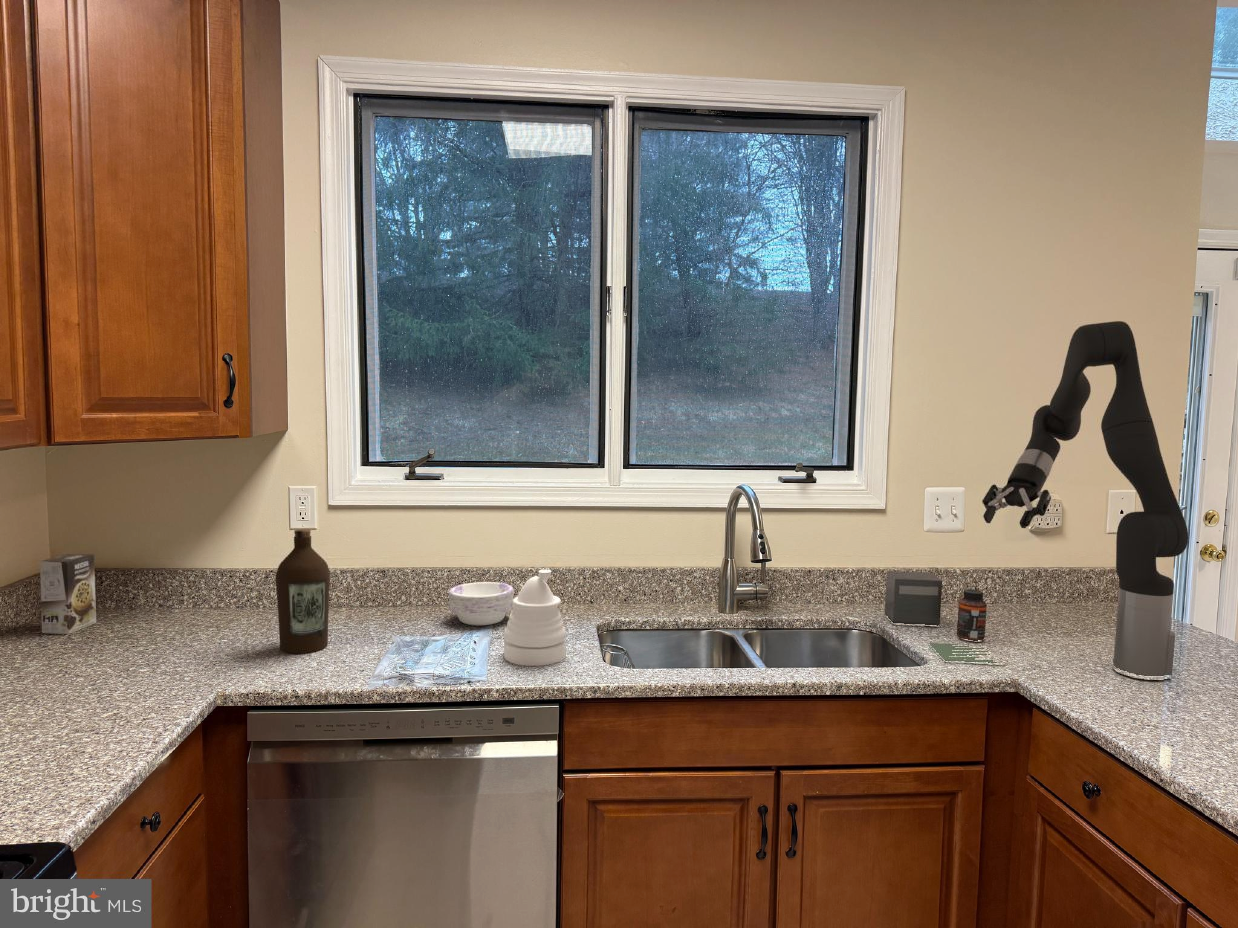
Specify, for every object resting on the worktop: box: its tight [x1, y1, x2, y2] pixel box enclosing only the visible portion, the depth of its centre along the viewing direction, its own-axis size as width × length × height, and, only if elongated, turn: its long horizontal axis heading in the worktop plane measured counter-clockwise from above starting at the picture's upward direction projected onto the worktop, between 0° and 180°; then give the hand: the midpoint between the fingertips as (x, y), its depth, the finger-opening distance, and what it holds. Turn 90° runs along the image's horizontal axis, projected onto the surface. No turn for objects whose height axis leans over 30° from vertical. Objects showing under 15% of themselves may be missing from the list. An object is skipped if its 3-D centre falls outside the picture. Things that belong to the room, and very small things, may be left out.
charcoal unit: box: [884, 570, 943, 627], centre depth 198 cm, size 11×10×12 cm
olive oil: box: [275, 528, 331, 655], centre depth 168 cm, size 11×11×25 cm
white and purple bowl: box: [448, 581, 515, 627], centre depth 191 cm, size 15×15×8 cm
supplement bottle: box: [956, 588, 988, 641], centre depth 184 cm, size 6×6×11 cm
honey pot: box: [503, 569, 567, 667], centre depth 166 cm, size 13×13×18 cm
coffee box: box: [39, 553, 97, 635], centre depth 179 cm, size 9×6×16 cm
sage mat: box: [928, 642, 997, 663], centre depth 173 cm, size 12×12×1 cm
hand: (1004, 523), depth 189 cm, fingers open, 8 cm apart
